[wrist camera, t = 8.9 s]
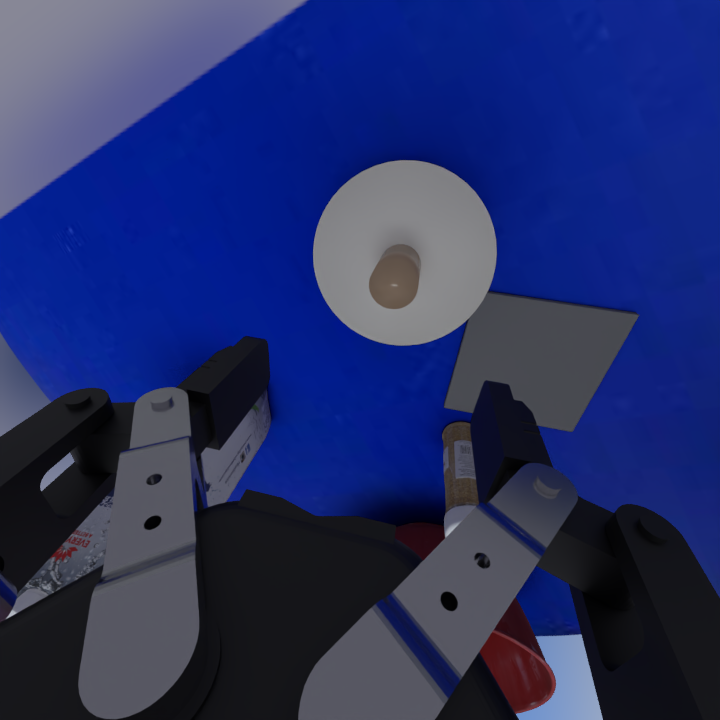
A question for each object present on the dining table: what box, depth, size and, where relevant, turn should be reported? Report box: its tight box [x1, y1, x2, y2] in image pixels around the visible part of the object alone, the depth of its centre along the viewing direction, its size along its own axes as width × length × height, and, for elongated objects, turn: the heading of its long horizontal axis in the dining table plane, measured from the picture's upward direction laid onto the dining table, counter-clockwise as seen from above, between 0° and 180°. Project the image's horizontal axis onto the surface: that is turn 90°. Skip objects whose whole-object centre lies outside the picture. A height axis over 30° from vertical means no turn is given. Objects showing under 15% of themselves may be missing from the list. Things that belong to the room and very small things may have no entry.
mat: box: [444, 291, 639, 432], centre depth 34 cm, size 14×14×1 cm
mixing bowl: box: [395, 523, 556, 714], centre depth 47 cm, size 28×28×16 cm
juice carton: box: [6, 388, 271, 619], centre depth 33 cm, size 9×10×27 cm
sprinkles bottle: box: [442, 422, 479, 538], centre depth 35 cm, size 5×5×14 cm
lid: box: [313, 160, 497, 345], centre depth 24 cm, size 14×14×6 cm
